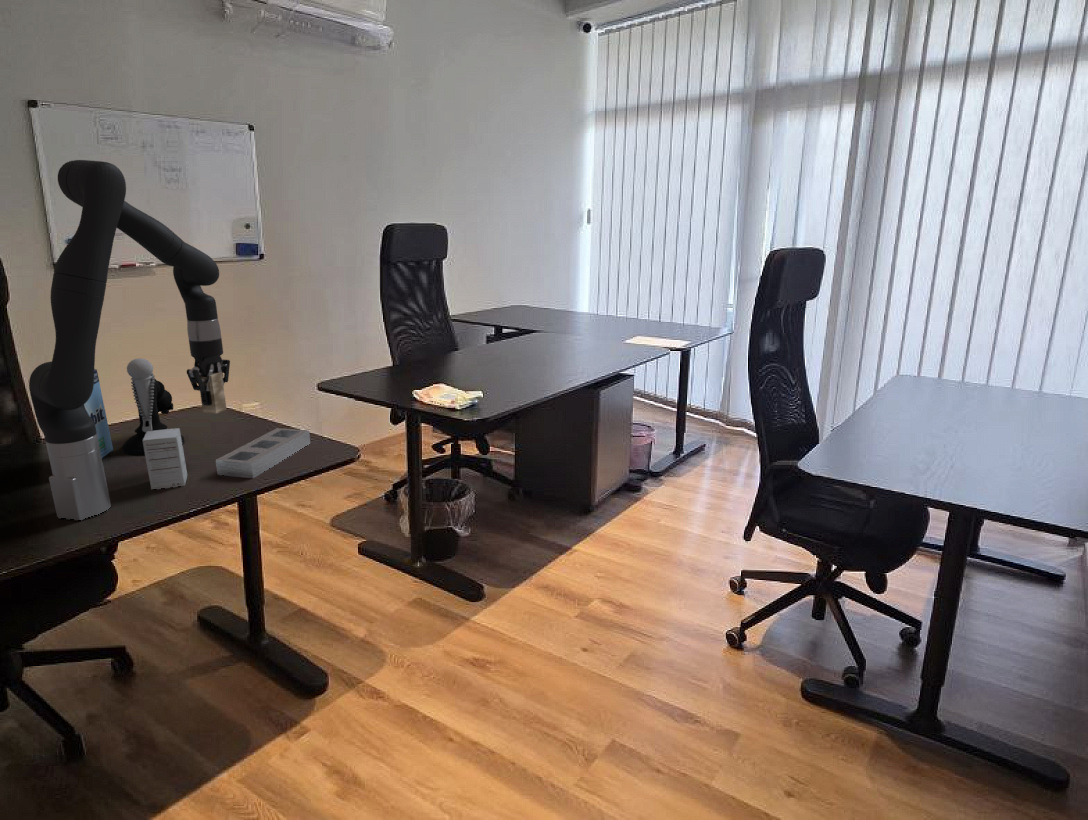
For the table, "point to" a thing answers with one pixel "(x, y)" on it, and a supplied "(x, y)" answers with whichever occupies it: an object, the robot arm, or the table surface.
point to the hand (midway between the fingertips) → (213, 402)
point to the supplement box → (165, 458)
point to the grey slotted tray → (262, 453)
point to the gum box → (99, 417)
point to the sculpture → (146, 403)
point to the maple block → (215, 394)
